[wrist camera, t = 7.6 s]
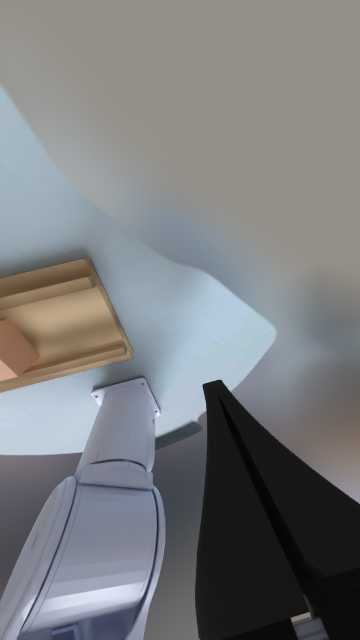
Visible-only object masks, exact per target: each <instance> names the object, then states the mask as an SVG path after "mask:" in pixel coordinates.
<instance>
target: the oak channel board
mask: <svg viewBox="0 0 360 640" xmlns="http://www.w3.org/2000/svg"><path fill="white" fill-rule="evenodd" d="M6 318H9V319H10V321H11V322H12V323H13V324H14V325H15V326H16V328H17V329H18V330H19V331H20V332H21V333H22V335H23V336H24V337H25V338H26V339H27V340H28V342H29V343H30V344H31V345H32V346H33V347H34V348H35V350H36V351H37V352H38V353H39V354H40V355H41V356H40V357H39V358H38V359H37V360H36V361H35V362H34V363H33V364H32V365H30V366H29V367H28V368H27V369H26V370H25V371H24V372H23V373H22V374H21V375H19V376H18V377H15V378H11V379H7V380H3V381H0V393H1V392H5V391H8V390H12V389H16V388H20V387H24V386H28V385H32V384H35V383H39V382H43V381H47V380H51V379H55V378H59V377H62V376H66V375H70V374H74V373H78V372H82V371H86V370H89V369H93V368H97V367H101V366H105V365H109V364H113V363H116V362H120V361H124V360H128V359H132V357H133V350H132V348H131V346H130V344H129V342H128V340H127V337H126V335H125V333H124V331H123V329H122V327H121V324H120V322H119V320H118V318H117V316H116V314H115V311H114V309H113V307H112V305H111V303H110V301H109V299H108V296H107V294H106V292H105V290H104V288H103V286H102V283H101V281H100V279H99V277H98V275H97V273H96V271H95V268H94V266H93V264H92V262H91V260H90V258H84V259H79V260H75V261H71V262H67V263H63V264H58V265H54V266H50V267H46V268H42V269H37V270H33V271H29V272H25V273H21V274H16V275H12V276H8V277H4V278H0V320H2V319H6Z"/></svg>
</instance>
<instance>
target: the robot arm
mask: <svg viewBox="0 0 360 640" xmlns="http://www.w3.org/2000/svg"><path fill="white" fill-rule="evenodd" d="M202 386H203V391H204V395H205V400H206V410H207V460H206V461H207V462H206V476H205V489H204V498H203V509H202V517H201V525H200V534H199V542H198V549H197V566H196V567H197V568H196V583H195V608H196V617H197V625H198V634H199V639H200V640H360V504H359V503H358V502H356V501H355V500H353V499H352V498H351V497H349V496H348V495H346V494H345V493H344V492H342V491H341V490H340V489H338V488H337V487H336V486H334V485H333V484H332V483H330V482H329V481H328V480H326V479H325V478H324V477H322V476H321V475H320V474H319V473H317V472H316V471H315V470H313V469H312V468H311V467H309V466H308V465H307V464H306V463H305V462H303V461H302V460H301V459H300V458H298V457H297V456H296V455H295V454H294V453H292V452H291V451H290V450H289V449H287V448H286V447H285V446H284V445H283V444H281V443H280V442H279V441H278V440H277V439H276V438H275V437H274V436H272V435H271V434H270V433H269V432H268V431H267V430H266V429H265V428H264V427H263V426H262V425H261V424H260V423H259V422H258V421H257V420H256V419H255V418H254V417H253V416H252V415H251V414H250V413H249V412H248V411H247V410H246V409H245V408H244V407H243V406H242V405H241V404H240V403H239V401H238V400H237V399H236V398H235V397H234V396H233V395H232V393H231V392H230V391H229V390H228V388H227V387H226V386H225V384H224V383H223V382H222V380H216V381H213V382H209V383H205V384H203V385H202ZM91 395H92V396H93V398H94V399H95V400H96V402H97V403H98V404H99V405H100V408H99V411H98V414H97V417H96V419H95V422H94V425H93V427H92V430H91V433H90V435H89V438H88V441H87V443H86V446H85V449H84V452H83V454H82V457H81V460H80V462H79V465H78V468H77V470H76V473H75V475H74V476H73V477H67V478H66V479H65V480H64V481H63V482H62V483H61V484H60V485H58V486H57V487H56V488H55V490H54V491H53V492H52V493H51V495H50V497H49V498H48V500H47V502H46V504H45V505H44V507H43V509H42V511H41V513H40V515H39V517H38V518H37V521H36V522H35V524H34V526H33V528H32V531H31V533H30V535H29V537H28V539H27V541H26V543H25V545H24V547H23V549H22V552H21V554H20V556H19V558H18V561H17V563H16V565H15V568H14V570H13V572H12V575H11V577H10V579H9V582H8V584H7V587H6V590H5V592H4V595H3V597H2V599H1V601H0V640H143V635H144V629H145V623H146V618H147V614H148V609H149V606H150V602H151V599H152V596H153V593H154V590H155V588H156V584H157V581H158V577H159V573H160V568H161V564H162V559H163V553H164V545H165V516H164V509H163V504H162V499H161V496H160V493H159V491H158V490H157V488H156V487H155V486H153V474H152V473H150V472H151V469H152V467H153V463H154V456H155V417H158V416H160V415H161V412H160V410H159V408H158V406H157V403H156V401H155V399H154V397H153V395H152V393H151V391H150V388H149V386H148V384H147V382H146V380H145V378H138V379H134V380H130V381H127V382H123V383H119V384H115V385H111V386H108V387H104V388H100V389H96V390H93V391H92V393H91ZM307 612H310V614H311V617H308V618H305V619H301V620H298V621H295V622H291V617H294V616H298V615H301V614H304V613H307Z"/></svg>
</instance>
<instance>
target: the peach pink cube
mask: <svg viewBox="0 0 360 640" xmlns="http://www.w3.org/2000/svg"><path fill="white" fill-rule="evenodd" d="M40 356H41V355H40V354H39V353H38V352H37V351H36V350H35V348H34V347H33V346H32V345H31V344H30V343H29V342H28V340H27V339H26V338H25V337H24V336H23V335H22V333H21V332H20V331H19V330H18V329H17V328H16V326H15V325H14V324H13V323H12V322H11V321H10V319H9V318H6V319H2V320H0V381H3V380H7V379H11V378H15V377H18V376H19V375H21V374H22V373H23V372H24V371H25V370H26V369H27V368H28V367H29V366H30V365H32V364H33V363H34V362H35V361H36V360H37V359H38V358H39V357H40Z"/></svg>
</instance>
